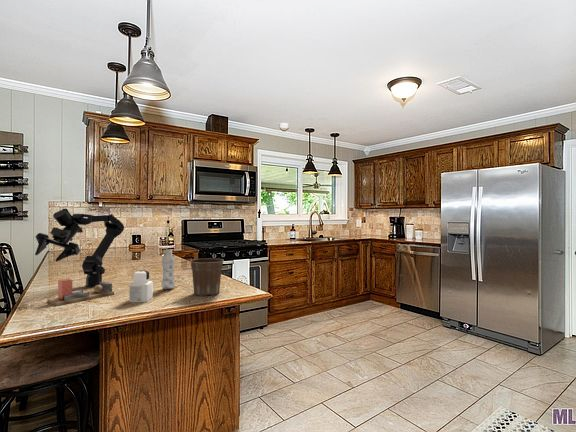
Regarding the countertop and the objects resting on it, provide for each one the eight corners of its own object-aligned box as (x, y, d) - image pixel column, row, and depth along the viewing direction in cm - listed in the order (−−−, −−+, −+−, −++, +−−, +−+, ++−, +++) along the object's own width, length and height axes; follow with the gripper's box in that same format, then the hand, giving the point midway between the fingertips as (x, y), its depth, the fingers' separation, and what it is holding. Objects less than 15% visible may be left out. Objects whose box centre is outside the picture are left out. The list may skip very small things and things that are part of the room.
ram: (77, 294, 154) (77, 277, 154) (82, 296, 151) (82, 278, 151) (58, 298, 147) (58, 280, 147) (62, 299, 145) (62, 281, 145)
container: (135, 297, 155) (135, 269, 155) (152, 297, 156) (153, 269, 155) (129, 302, 147) (129, 272, 147) (147, 302, 148) (147, 272, 148)
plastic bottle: (177, 288, 175) (177, 249, 174) (169, 291, 168) (169, 251, 168) (167, 287, 177) (167, 249, 176) (158, 290, 170) (158, 250, 170)
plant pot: (199, 288, 175) (199, 257, 174) (228, 290, 171) (228, 258, 171) (183, 296, 159) (183, 261, 158) (215, 298, 155) (215, 263, 155)
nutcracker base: (103, 291, 166) (103, 281, 166) (114, 294, 160) (114, 283, 160) (47, 302, 146) (47, 290, 146) (57, 306, 141) (57, 293, 141)
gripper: (44, 216, 157) (19, 240, 145) (84, 228, 158) (62, 253, 147) (50, 231, 164) (27, 255, 153) (88, 242, 165) (67, 267, 154)
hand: (45, 257), depth 152 cm, fingers open, 9 cm apart
